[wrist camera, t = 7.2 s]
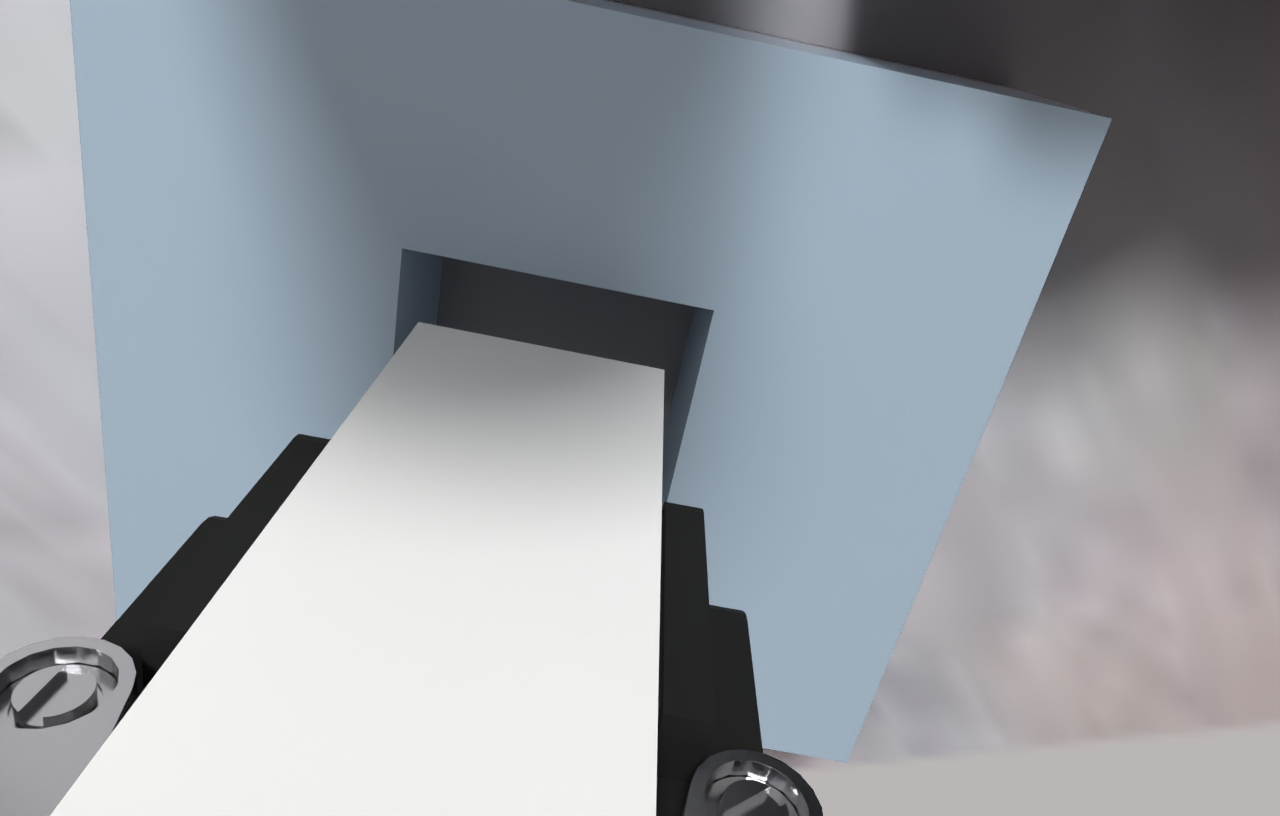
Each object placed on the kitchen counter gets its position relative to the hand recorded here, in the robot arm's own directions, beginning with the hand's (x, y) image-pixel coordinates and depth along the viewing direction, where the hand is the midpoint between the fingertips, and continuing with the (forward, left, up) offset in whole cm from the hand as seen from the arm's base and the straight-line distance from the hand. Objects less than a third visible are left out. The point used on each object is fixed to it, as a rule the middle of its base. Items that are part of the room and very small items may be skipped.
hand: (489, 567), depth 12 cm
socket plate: (0, 0, -9) cm, 9 cm away
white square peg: (0, 0, -3) cm, 3 cm away
